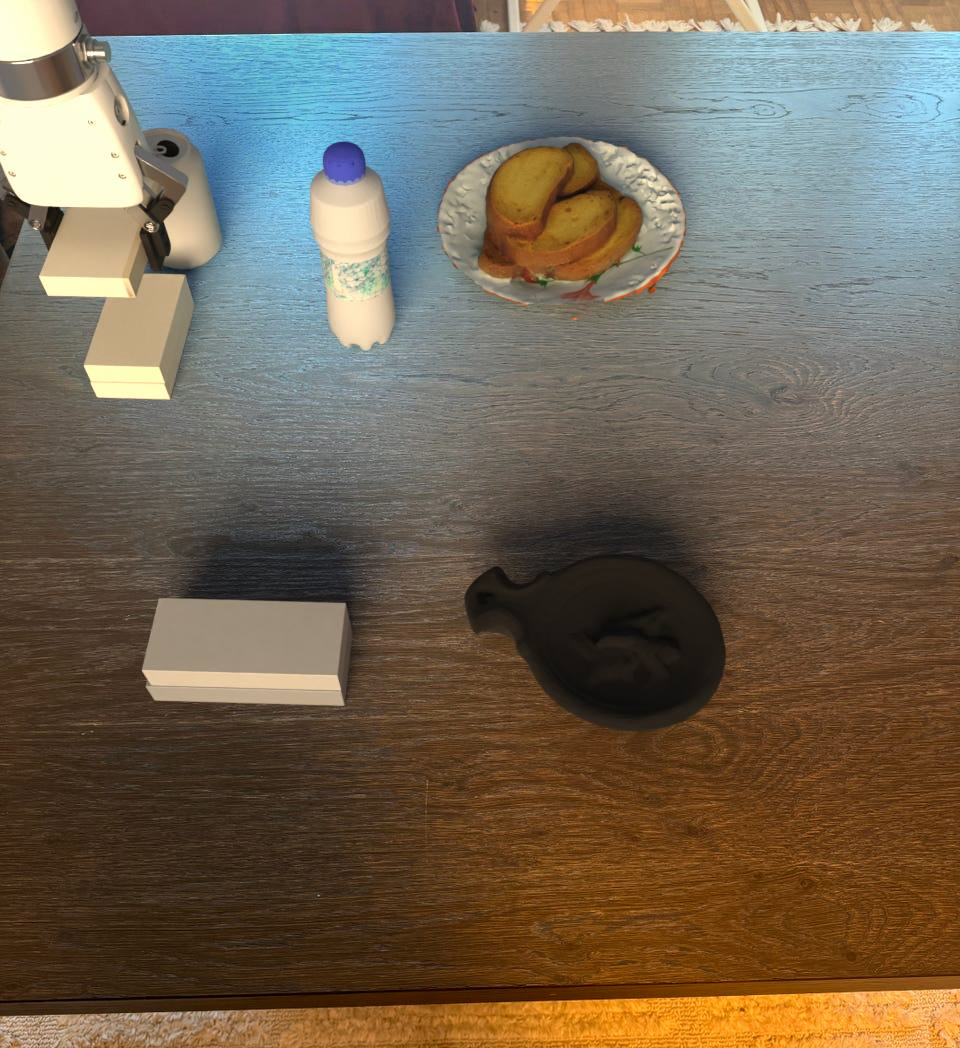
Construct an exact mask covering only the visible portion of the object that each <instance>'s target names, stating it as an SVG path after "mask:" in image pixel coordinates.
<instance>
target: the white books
mask: <svg viewBox="0 0 960 1048" xmlns="http://www.w3.org/2000/svg"><path fill="white" fill-rule="evenodd" d="M195 307H196V305H195V302H194V299H193V296H192V292H191V289H190V286H189V283H188V280H187V276H186V274H180V273H179V274H178V273H146V272H144V274H143V277H142V280H141V283H140V286H139V290H138V293H137V296H136V298H129V297H105V300H104V304H103V307H102V310H101V313H100V316H99V319H98V322H97V325H96V328H95V330H94V333H93V336H92V339H91V341H90V344H89V345H90V346H89V348H88V350H87V354H86V357H85V360H84V363H83V368H84V370H85V372H86V373H87V376H88V379H89V380H90V385H91V388H92V389H93V391H94V394H95V395H96V397H97V398H98V399H99V398H100V399H101V398H102V399H103V398H104V399H105V398H106V399H136V400H137V399H139V400H140V399H141V400H171V398H172V394H173V390H174V385H175V383H176V378H177V375H178V370H179V367H180V364H181V359H182V355H183V352H184V348H185V345H186V340H187V338H188V333H189V329H190V326H191V322H192V320H193V319H192V318H193V315H194V311H195Z"/></svg>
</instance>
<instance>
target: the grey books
mask: <svg viewBox="0 0 960 1048" xmlns="http://www.w3.org/2000/svg"><path fill="white" fill-rule="evenodd" d="M352 643H353V629H352V624H351V619H350V616H349V611H348V606H347V603H346V602H328V601H327V602H324V601H293V600H292V601H290V600H289V601H287V600H257V599H256V600H255V599H254V600H253V599H251V600H250V599H246V600H245V599H220V598H219V599H216V598H215V599H214V598H179V597H177V598H176V597H159V598H158V602H157V605H156V609H155V613H154V617H153V621H152V626H151V630H150V633H149V639H148V643H147V647H146V651H145V655H144V659H143V663H142V667H141V672H142V674H143V675H144V676H145V678H146V684H145V688H146V689H147V691H148V692H149V694H150V696H151V697H152V699H153V700H154V701H156V702H157V701H159V702H160V701H161V702H191V703H192V702H197V703H198V702H199V703H228V704H229V703H232V704H233V703H235V704H265V705H266V704H267V705H268V704H271V705H303V706H304V705H306V706H313V705H314V706H339V707H340V706H341V707H342V706H345V705H346V696H347V689H348V688H347V687H348V679H349V669H350V663H351V662H350V661H351V660H350V659H351V652H352Z"/></svg>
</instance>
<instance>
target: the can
mask: <svg viewBox="0 0 960 1048" xmlns="http://www.w3.org/2000/svg"><path fill="white" fill-rule="evenodd" d="M142 131H143V134H144V136H145V139H146V141H147V144H148V147H149V149H150V152H151V154H153V155H154V156H156V157H158V158H159V159H161V160H163V161H164V162H166V163H168V164H169V165H171V166H173V167H174V168H176V169H178V170H179V171H181V172H182V173H184V174H186V175H187V176H188V178H189V182H188V186H187V189H186V192H185V193H184V195H183V196H182V198H181V199H180V200H179V202H178V203H177V204H176V206H175V207H174V209H173V211H172V213H171V214H170V215H169V216H168V217H167V218H166V219H165V220H164V224H165V227H166V230H167V233H168V236H169V239H170V243H171V251H170V255H169V256H165V259H164V263H163V266H164V267H165V268H170V269H174V270H181V271H183V270H191V269H195V268H199V267H201V266H203V265H205V264H207V263H208V262H209V261H210V260H211V259H213V258H214V256H216V254H218V253H219V251H220V249H221V247H222V246H223V233H222V229H221V226H220V221H219V218H218V214H217V210H216V206H215V201H214V199H213V195H212V191H211V186H210V183H209V179H208V175H207V172H206V168H205V164H204V160H203V156H202V154H201V152H200V150H199V148H198V147H197V146H196V145H194V144H193V143H192V142H191V140H190V138H189V137H188V136H187V134H185V133H184V132H181V131H179V130H177V129H174V128H168V127H167V128H166V127H155V128H150V129H146V130H145V129H144V130H142ZM142 180H143V181H153V180H151V179H150V178H148V177H146V176H143V177H142ZM162 189H164V187H163V186H162Z"/></svg>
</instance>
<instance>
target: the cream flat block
mask: <svg viewBox="0 0 960 1048" xmlns="http://www.w3.org/2000/svg"><path fill="white" fill-rule="evenodd" d="M144 182H145V183H146V185H147V186H148V187H149V188H150V189H151V190H152V191H153V192H154V193H155V194H156V195H158V194H159V193H160V192H161V191H162V190H163V189H162V186H161V185H160V184H158V183H156V182H155V181H144ZM142 205H143V206H144V207H145V208H147V207H146V206H145V205H144V204H143V203H142ZM141 227H142V226H141V225H140V224H139V223H138V222H137V221H136V220H135V219H134V218H133V217H132V216H131V215H130V214H129V213H128V212H127V211H126V210H125V209H124V208H123V207H66V208H65V211H64V216H63V219H62V221H61V224H60V226H59V229H58V231H57V234H56V236H55V238H54V240H53V243H52V245H51V248H50V250H49V251H48V253H47V256H46V257H45V261H44V263H43V265H42V268H41V270H40V273H39V275H38V278H39V280H40V283H41V285H42V287H43V288H44V289H45V290H44V291H45V292H46V295H47V296H48V297H49V296H51V297H88V298H89V297H90V298H91V297H92V298H94V297H95V298H107V297H129V298H136V296H137V293H138V290H139V286H140V283H141V280H142V277H143V274H144V273H145V271H146V267H147V264H148V257H147V255H146V252H145V249H144V246H143V243H142V240H141V239H140V236H139V233H140V230H141Z"/></svg>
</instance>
